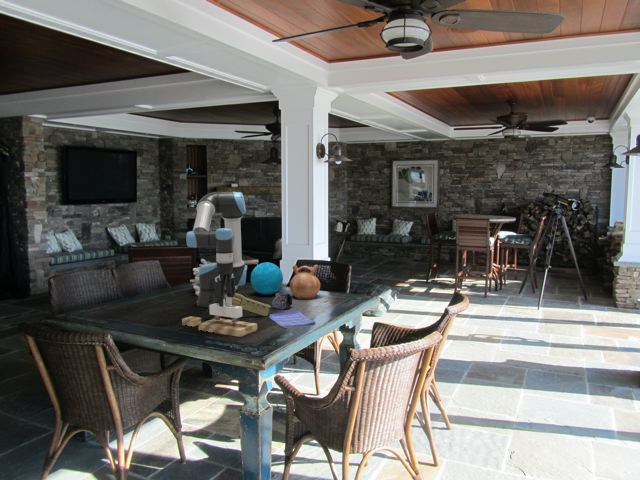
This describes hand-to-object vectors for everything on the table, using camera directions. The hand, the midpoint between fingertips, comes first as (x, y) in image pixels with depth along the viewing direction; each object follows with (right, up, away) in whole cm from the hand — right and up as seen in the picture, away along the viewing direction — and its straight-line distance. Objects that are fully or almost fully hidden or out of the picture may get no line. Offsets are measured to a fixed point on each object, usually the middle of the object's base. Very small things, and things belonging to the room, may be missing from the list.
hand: (225, 311), depth 245 cm
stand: (-18, -8, +11) cm, 23 cm away
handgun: (+2, -7, +24) cm, 25 cm away
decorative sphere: (+11, -1, +83) cm, 84 cm away
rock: (+23, -4, +47) cm, 52 cm away
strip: (0, -4, 0) cm, 4 cm away
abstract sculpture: (-23, 0, +89) cm, 92 cm away
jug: (+35, -1, +74) cm, 82 cm away
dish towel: (+29, -8, +17) cm, 35 cm away
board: (+1, -8, 0) cm, 9 cm away
